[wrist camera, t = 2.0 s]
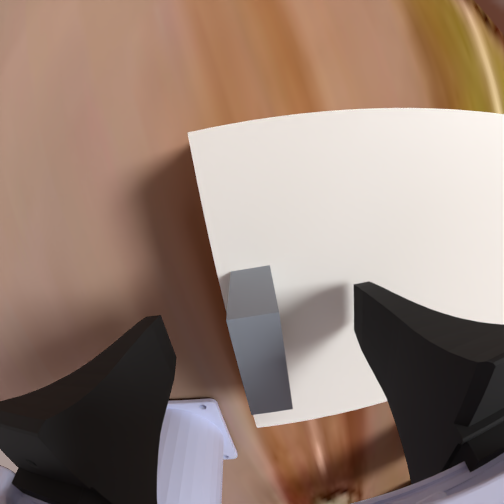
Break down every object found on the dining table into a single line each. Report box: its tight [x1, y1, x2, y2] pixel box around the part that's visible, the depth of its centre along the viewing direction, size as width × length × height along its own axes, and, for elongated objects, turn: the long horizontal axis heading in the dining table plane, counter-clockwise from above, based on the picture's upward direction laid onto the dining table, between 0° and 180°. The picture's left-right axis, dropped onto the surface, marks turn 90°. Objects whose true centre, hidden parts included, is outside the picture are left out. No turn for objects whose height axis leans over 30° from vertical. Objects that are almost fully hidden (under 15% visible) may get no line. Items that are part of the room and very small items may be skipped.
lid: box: [188, 108, 504, 428], centre depth 10 cm, size 15×14×4 cm
